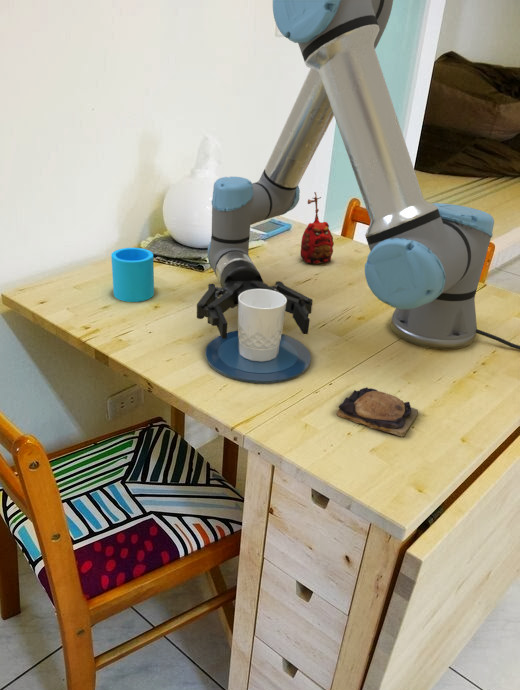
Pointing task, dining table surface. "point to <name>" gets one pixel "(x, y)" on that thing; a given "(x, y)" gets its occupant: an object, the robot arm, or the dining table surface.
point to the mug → (133, 274)
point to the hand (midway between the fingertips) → (266, 329)
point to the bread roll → (378, 411)
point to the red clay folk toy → (317, 240)
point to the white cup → (260, 323)
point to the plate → (234, 366)
